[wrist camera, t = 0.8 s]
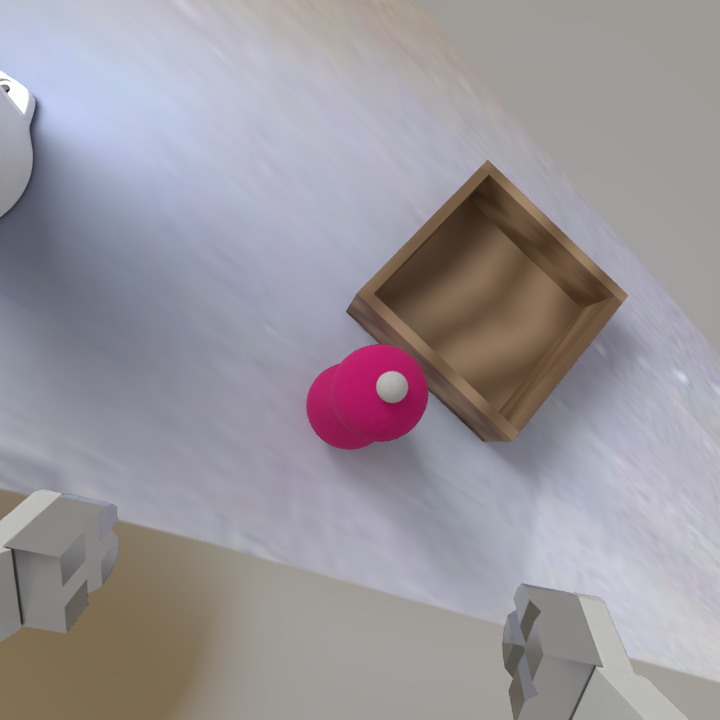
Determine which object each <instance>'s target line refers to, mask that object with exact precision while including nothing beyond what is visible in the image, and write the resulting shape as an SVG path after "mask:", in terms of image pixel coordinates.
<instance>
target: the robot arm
mask: <svg viewBox="0 0 720 720" xmlns="http://www.w3.org/2000/svg"><path fill="white" fill-rule="evenodd" d="M6 90H10V91H9V92H8V93H7V92H6ZM34 110H35V98H34V96H33V95H32V94H31V93H30V91H29V90H28V89H27V88H26V87H25V86H23V85H22V84H20V83H19V82H17V81H16V80H14V79H13V78H11V77H9V76H8V75H6V74H5V73H3V72H2V71H0V217H1V216H2V215H4V214H5V213H6V212H7V211H8V210H9V209H10V208H11V207H12V206H13V205H14V204H15V203H16V202H17V201H18V199H19V198H20V197H21V195H22V193H23V192H24V190H25V188H26V186H27V184H28V181H29V179H30V175H31V171H32V165H33V150H32V144H31V139H30V131H29V126H30V123H31V120H32V117H33V114H34ZM117 521H118V512H117V507H116V506H115V505H113V504H111V503H107V502H102V501H98V500H93V499H89V498H84V497H80V496H75V495H71V494H63V493H59V492H54V491H50V490H46V489H41V490H38V491H35V492H34V493H32V494H31V495H30V496H29V497H28V498H27V499H25V500H24V501H23V502H22V503H21V504H20V505H18V506H17V507H16V508H15V509H14V510H13V511H12V512H10V513H9V514H8V515H7V516H6V517H4V518H3V519H2V520H1V521H0V642H1V641H2V640H4V639H6V638H7V637H9V636H10V635H12V634H14V633H15V632H17V631H18V630H20V629H21V626H26V627H31V628H37V629H43V630H49V631H54V632H60V633H66V634H67V632H68V631H69V630H70V628H71V627H72V626H73V625H74V623H75V622H76V621H77V619H78V618H79V617H80V615H81V614H82V612H83V611H84V610H85V609H86V607H87V606H88V593H90V592H92V591H94V590H96V589H98V588H100V587H102V586H103V584H104V583H105V581H106V580H107V579H108V577H109V576H110V574H111V572H112V569H113V567H114V565H115V563H116V560H117V556H118V550H119V538H118V537H117V535H116V534H115V533H114V531H113V530H112V527H113V526H114V525H115V523H117ZM514 601H515V606H516V610H515V611H514V612H512V613H511V614H509V615H508V617H507V620H506V624H505V627H504V633H503V645H502V646H503V659H504V666H505V669H506V670H507V671H508V672H509V674H510V675H511V676H512V678H513V680H512V683H511V686H510V688H509V695H510V701H511V706H512V712H513V718H514V720H689V719H688V718H687V717H685V716H684V715H683V714H682V713H681V712H680V711H679V710H678V709H677V708H676V707H675V706H674V705H673V704H672V703H671V702H670V701H669V700H668V699H667V698H666V697H665V696H664V695H663V694H662V693H661V692H660V691H659V690H657V688H655V686H653V685H652V684H651V683H650V682H649V681H648V680H647V679H646V678H645V677H644V676H640V675H636V674H635V672H634V669H633V667H632V665H631V663H630V660H629V658H628V656H627V653H626V651H625V649H624V646H623V644H622V642H621V639H620V637H619V635H618V632H617V630H616V628H615V625H614V623H613V621H612V618H611V616H610V614H609V611H608V609H607V607H606V604H605V602H604V601H603V600H602V599H601V598H600V597H595V596H590V595H584V594H578V593H570V592H565V591H560V590H554V589H549V588H544V587H538V586H533V585H528V584H522V583H521V584H520V586H519V587H518V588H517V591H516V594H515V597H514Z"/></svg>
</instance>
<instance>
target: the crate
mask: <svg viewBox="0 0 720 720" xmlns="http://www.w3.org/2000/svg"><path fill="white" fill-rule="evenodd" d="M627 296H628V295H627V294H626V293H625V292H624V291H623V290H622V289H621V288H620V287H619V286H618V285H617V284H616V283H615V282H614V281H613V280H612V279H611V278H610V277H609V276H608V275H607V274H606V273H605V272H604V271H602V270H601V269H600V268H599V267H598V266H597V265H596V264H595V263H594V262H593V261H592V260H591V259H590V258H589V257H588V256H587V255H586V254H585V253H584V252H583V251H582V250H581V249H580V248H579V247H578V246H577V245H576V244H575V243H573V242H572V241H571V240H570V239H569V238H568V237H567V236H566V235H565V234H564V233H563V232H562V231H561V230H560V229H559V228H558V227H557V226H556V225H555V224H554V223H553V222H552V221H551V220H550V219H549V218H548V217H547V216H546V215H544V214H543V213H542V212H541V211H540V210H539V209H538V208H537V207H536V206H535V205H534V204H533V203H532V202H531V201H530V200H529V199H528V198H527V197H526V196H525V195H524V194H523V193H522V192H521V191H520V190H519V189H518V188H517V187H515V186H514V185H513V184H512V183H511V182H510V181H509V180H508V179H507V178H506V177H505V176H504V175H503V174H502V173H501V172H500V171H499V170H498V169H497V168H496V167H495V166H494V165H493V164H492V163H491V162H490V161H489V160H487V161H486V162H485V163H484V164H483V165H482V166H481V167H480V168H479V169H478V170H477V171H476V172H475V173H474V174H473V175H472V176H471V177H470V179H469V180H468V181H467V182H466V183H465V184H464V185H463V186H462V187H461V188H460V189H459V190H458V191H457V192H456V193H455V194H454V195H453V196H452V197H451V198H450V199H449V200H448V201H447V202H446V203H445V204H444V205H443V206H442V207H441V208H440V209H439V210H438V211H437V212H436V213H435V214H434V215H433V216H432V217H431V218H430V219H429V220H428V221H427V222H426V223H425V225H424V226H423V227H422V228H421V229H420V230H419V231H418V232H417V233H416V234H415V235H414V236H413V237H412V238H411V239H410V240H409V241H408V242H407V243H406V244H405V245H404V246H403V247H402V248H401V249H400V250H399V251H398V252H397V253H396V254H395V255H394V256H393V257H392V258H391V259H390V260H389V261H388V262H387V263H386V264H385V265H384V266H383V267H382V268H381V269H380V271H379V272H378V273H377V274H376V275H375V276H374V277H373V278H372V279H371V280H370V281H369V282H368V283H367V284H366V285H365V286H364V287H363V288H362V289H361V290H360V291H359V292H358V293H357V294H356V296H355V298H354V299H353V301H352V302H351V304H350V306H349V307H348V309H347V311H346V312H347V313H348V314H349V315H351V316H352V317H353V318H354V319H355V320H356V321H357V322H358V323H359V324H360V325H361V326H362V327H363V328H364V329H365V330H366V331H367V332H368V333H370V334H371V335H372V336H373V337H374V338H375V339H376V340H377V341H378V342H379V343H380V344H382V345H390V346H393V347H397V348H399V349H401V350H403V351H405V352H406V353H408V354H409V355H410V356H411V357H412V358H414V359H415V361H416V362H417V363H418V364H419V365H420V367H421V369H422V371H423V373H424V375H425V378H426V381H427V386H428V389H429V390H430V391H431V392H432V393H433V394H434V395H435V396H436V397H437V398H438V399H439V400H440V401H441V402H442V403H443V404H444V405H446V406H447V407H448V408H449V409H450V410H451V411H452V412H453V413H454V414H455V415H456V416H457V417H458V418H459V419H460V420H461V421H462V422H463V423H464V424H466V425H467V426H468V427H469V428H470V429H471V430H472V431H473V432H474V433H475V434H476V435H477V436H478V437H479V438H480V439H481V440H482V441H513V440H514V438H515V437H516V436H517V435H518V433H519V432H520V431H521V430H522V428H523V427H524V426H525V425H526V423H527V422H528V421H529V420H530V418H531V417H532V416H533V415H534V413H535V412H536V411H537V410H538V408H539V407H540V406H541V405H542V403H543V402H544V401H545V400H546V398H547V397H548V396H549V394H550V393H551V392H552V391H553V389H554V388H555V387H556V386H557V384H558V383H559V382H560V381H561V379H562V378H563V377H564V376H565V374H566V373H567V372H568V371H569V369H570V368H571V367H572V366H573V364H574V363H575V362H576V361H577V359H578V358H579V357H580V356H581V354H582V353H583V352H584V351H585V349H586V348H587V347H588V345H589V344H590V343H591V342H592V340H593V339H594V338H595V337H596V335H597V334H598V333H599V332H600V330H601V329H602V328H603V327H604V325H605V324H606V323H607V322H608V320H609V319H610V318H611V317H612V315H613V314H614V313H615V312H616V310H617V309H618V308H619V307H620V305H621V304H622V303H623V302H624V300H625V299H626V298H627Z"/></svg>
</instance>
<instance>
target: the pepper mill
mask: <svg viewBox="0 0 720 720" xmlns="http://www.w3.org/2000/svg"><path fill="white" fill-rule="evenodd" d="M427 401H428V386H427V381H426V378H425V375H424V373H423V371H422V369H421V367H420V365H419V364H418V363H417V362H416V361H415V359H414V358H412V357H411V356H410V355H409V354H408V353H406V352H405V351H403V350H401V349H399V348H397V347H393V346H390V345H382V344H377V345H370V346H366V347H363V348H360V349H358V350H356V351H354V352H353V353H351V354H350V355H349V356H348V357H346V358H345V359H344V360H343V361H342V363H341V364H337V365H335V366H332V367H330V368H328V369H327V370H325V371H324V372H322V373H321V374H320V375H319V376H318V377H317V378H316V380H315V381H314V382H313V384H312V386H311V388H310V390H309V393H308V397H307V415H308V419H309V422H310V424H311V426H312V428H313V430H314V431H315V432H316V434H317V435H318V436H319V437H320V438H321V439H322V440H324V441H325V442H326V443H328V444H330V445H332V446H334V447H337V448H341V449H358V448H362V447H365V446H367V445H369V444H371V443H373V442H375V441H380V442H383V441H390V440H393V439H396V438H399V437H401V436H403V435H405V434H406V433H408V432H409V431H410V430H411V429H413V428H414V427H415V426H416V424H417V423H418V422H419V421H420V419H421V417H422V415H423V413H424V411H425V409H426V405H427Z"/></svg>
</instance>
